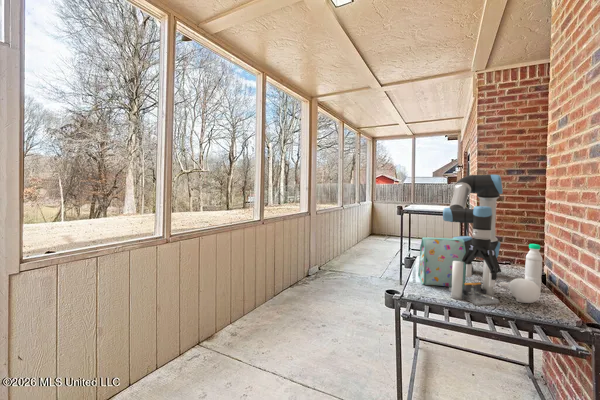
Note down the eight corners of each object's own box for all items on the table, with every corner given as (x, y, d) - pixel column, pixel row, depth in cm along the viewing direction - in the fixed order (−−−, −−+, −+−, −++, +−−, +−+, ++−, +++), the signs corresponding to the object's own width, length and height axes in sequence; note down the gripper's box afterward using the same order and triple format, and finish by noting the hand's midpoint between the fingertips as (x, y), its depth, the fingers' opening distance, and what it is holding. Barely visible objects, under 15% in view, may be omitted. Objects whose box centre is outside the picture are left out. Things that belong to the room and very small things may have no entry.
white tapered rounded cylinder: (447, 296, 137) (449, 260, 137) (457, 295, 138) (458, 260, 138) (455, 300, 132) (457, 263, 132) (465, 299, 133) (467, 263, 133)
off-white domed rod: (478, 294, 141) (479, 259, 140) (487, 293, 142) (488, 259, 141) (487, 298, 135) (489, 262, 135) (496, 297, 136) (498, 262, 136)
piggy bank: (541, 311, 125) (520, 301, 140) (550, 287, 125) (528, 279, 140) (513, 301, 127) (495, 292, 142) (521, 277, 127) (503, 270, 142)
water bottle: (534, 292, 145) (537, 245, 145) (520, 287, 152) (523, 243, 152) (544, 291, 147) (546, 245, 147) (530, 286, 154) (532, 242, 153)
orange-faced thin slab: (463, 291, 137) (464, 283, 137) (478, 290, 138) (479, 282, 138) (465, 292, 135) (466, 284, 135) (481, 291, 137) (481, 283, 137)
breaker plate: (448, 291, 145) (449, 283, 145) (468, 289, 147) (468, 282, 147) (476, 305, 127) (476, 296, 127) (498, 303, 129) (498, 295, 129)
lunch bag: (458, 281, 162) (460, 236, 161) (467, 290, 146) (469, 240, 145) (416, 277, 167) (418, 233, 167) (421, 286, 152) (423, 238, 151)
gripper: (455, 234, 144) (453, 273, 144) (497, 243, 119) (495, 291, 120) (467, 233, 145) (466, 273, 146) (512, 242, 120) (510, 290, 121)
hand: (479, 281), depth 133 cm, fingers open, 13 cm apart
